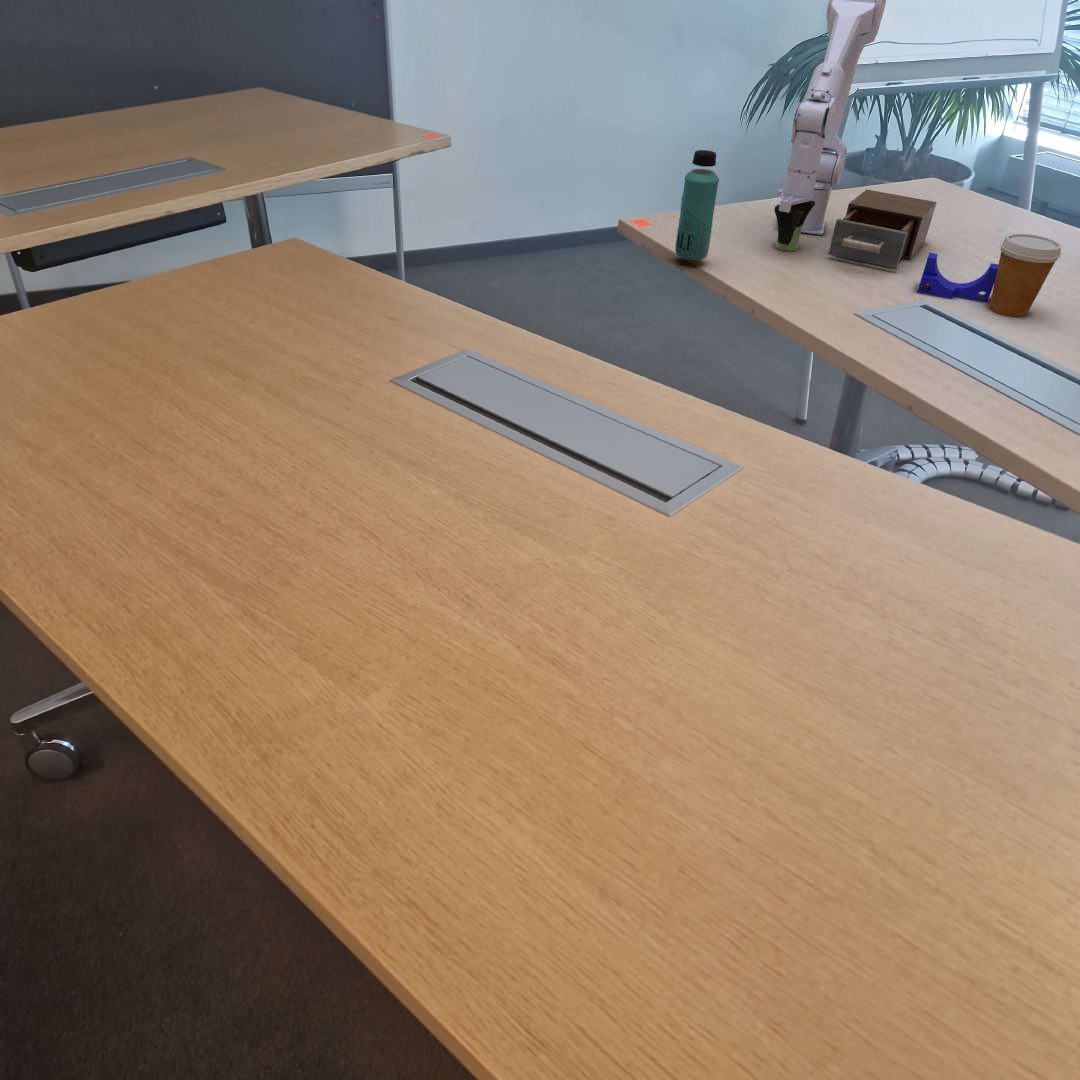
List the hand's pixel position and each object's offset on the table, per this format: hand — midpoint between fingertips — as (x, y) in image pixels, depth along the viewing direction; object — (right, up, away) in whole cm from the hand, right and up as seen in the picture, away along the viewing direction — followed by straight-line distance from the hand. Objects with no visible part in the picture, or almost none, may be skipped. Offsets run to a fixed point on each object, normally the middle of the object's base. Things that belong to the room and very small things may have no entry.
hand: (787, 240), depth 178 cm
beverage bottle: (-21, -7, -9) cm, 24 cm away
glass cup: (0, -1, +1) cm, 1 cm away
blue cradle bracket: (+25, -16, -17) cm, 34 cm away
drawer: (+14, -5, -4) cm, 16 cm away
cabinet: (+21, +1, +5) cm, 22 cm away
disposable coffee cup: (+33, -20, -22) cm, 44 cm away
